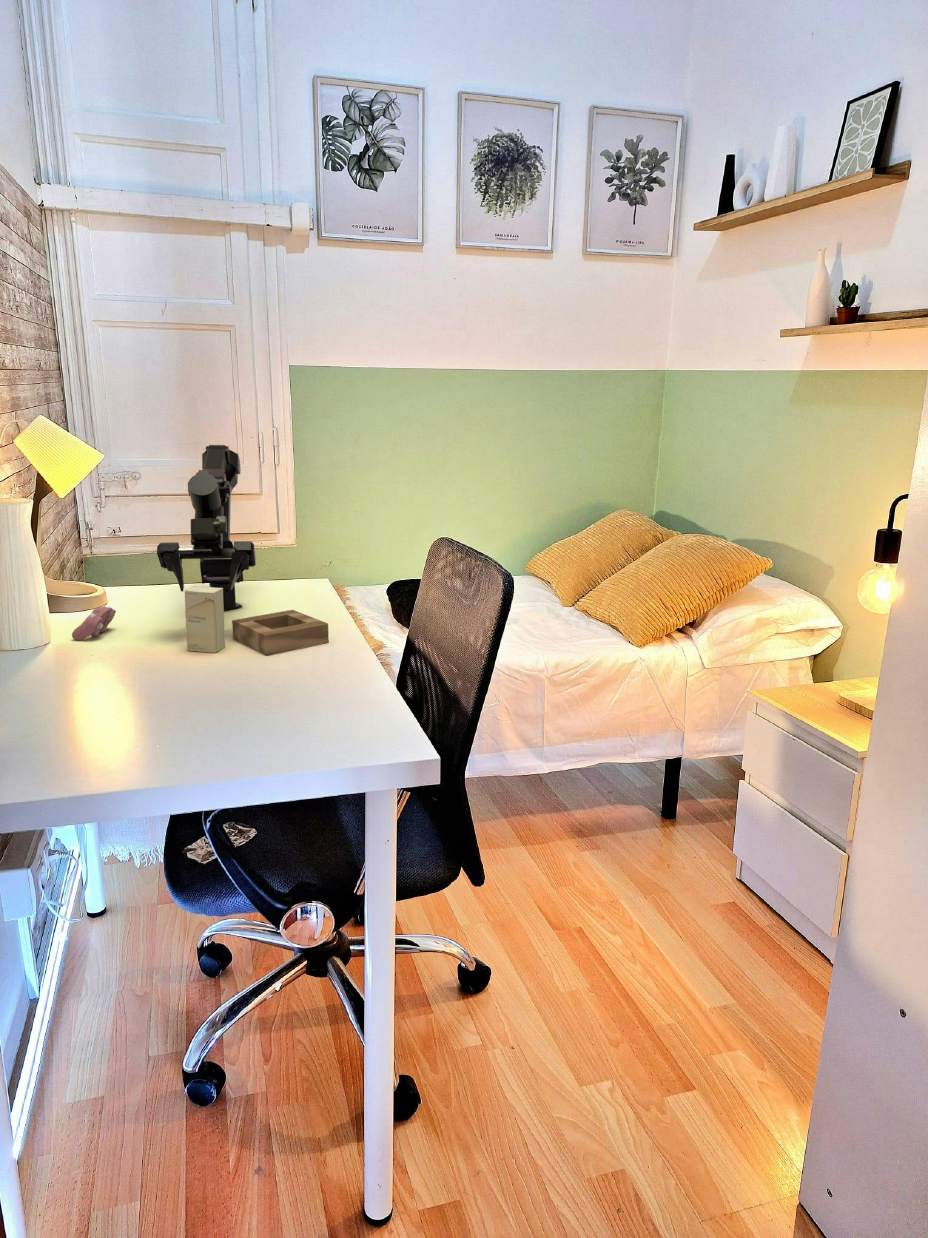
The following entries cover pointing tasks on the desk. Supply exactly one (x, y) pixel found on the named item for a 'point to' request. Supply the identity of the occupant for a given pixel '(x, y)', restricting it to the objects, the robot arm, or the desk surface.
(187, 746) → the desk surface
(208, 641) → the skincare box
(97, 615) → the pink toy car
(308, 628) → the frame
